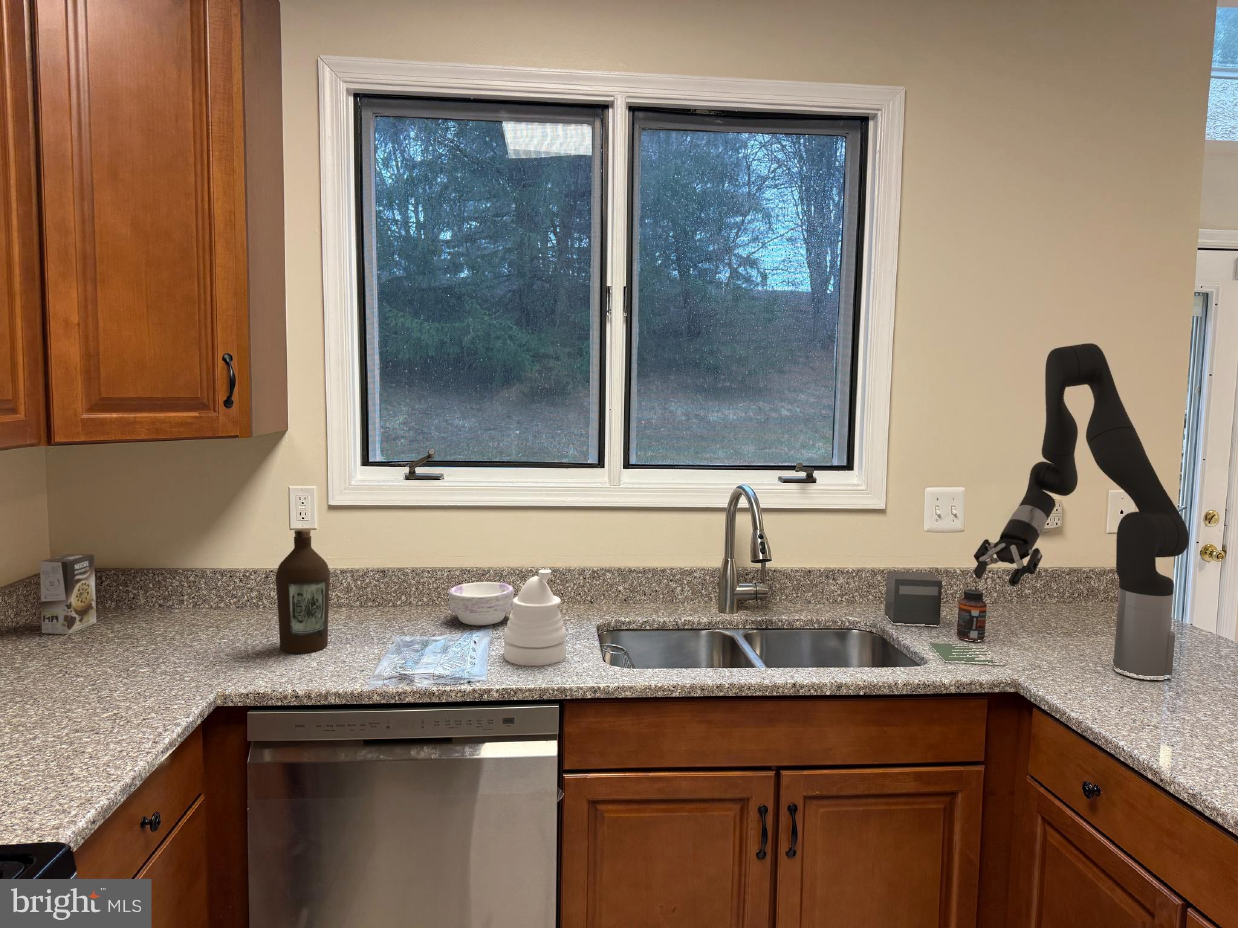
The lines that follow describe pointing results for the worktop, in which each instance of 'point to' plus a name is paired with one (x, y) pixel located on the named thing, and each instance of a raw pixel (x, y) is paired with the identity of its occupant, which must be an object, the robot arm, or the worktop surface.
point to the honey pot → (535, 626)
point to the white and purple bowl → (481, 602)
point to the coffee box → (67, 593)
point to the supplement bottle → (972, 616)
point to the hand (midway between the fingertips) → (993, 580)
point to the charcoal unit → (913, 597)
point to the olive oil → (303, 598)
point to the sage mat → (946, 651)
